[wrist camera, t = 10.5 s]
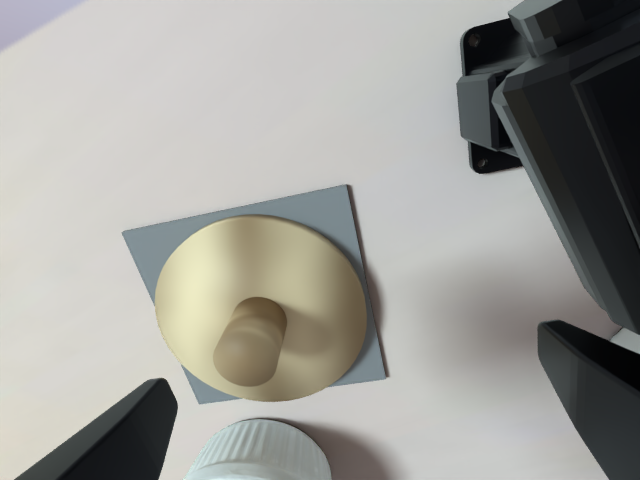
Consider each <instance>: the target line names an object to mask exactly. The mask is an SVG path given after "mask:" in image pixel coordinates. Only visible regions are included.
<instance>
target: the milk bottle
mask: <svg viewBox="0 0 640 480" xmlns="http://www.w3.org/2000/svg"><path fill="white" fill-rule="evenodd" d="M610 342H613V343H615V344H617V345H620V346H622V347H624V348H627V349H629V350H631V351H634V352H636V353H638V354H640V335H638V334H636V333H634V332H632V331H630V330H628V329H626V328H622V329H621V330H620V331H619V332H618V333H617V334H616V335H614V336H613V337H612V339H611V340H610Z"/></svg>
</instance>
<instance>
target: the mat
mask: <svg viewBox="0 0 640 480" xmlns="http://www.w3.org/2000/svg"><path fill="white" fill-rule="evenodd" d="M245 214H263V215H272V216H278V217H282V218H286V219H290V220H293V221H296V222H298V223H301V224H304V225H306V226H307V227H309V228H311V229H313V230H315V231H317V232H318V233H320V234H321V235H323V236H324V237H326V238H327V239H329V240H330V241H331V242H332V243H333V244H334V245H335V246H336V247H337V248H339V249H340V251H341V252H342V253H343V254H344V255H345V256H346V258H347V259H348V260H349V262H350V263H351V265H352V266H353V268H354V269H355V271H356V273H357V275H358V278H359V280H360V282H361V285H362V289H363V292H364V297H365V304H366V313H367V327H366V333H365V339H364V342H363V345H362V348H361V350H360V352H359V354H358V356H357V358H356V360H355V361H354V362H353V364H352V365H351V367H350V368H349V369H348V370H347V371H346V372H345V373H344V374H343V375H342V376H341V377H340V378H339V379H338V380H336V381H335V382H334V383H333V384H331V385H329V386H328V387H332V386H339V385H347V384H354V383H362V382H369V381H376V380H384V379H386V377H385V371H384V367H383V362H382V357H381V352H380V347H379V342H378V337H377V332H376V327H375V323H374V318H373V313H372V308H371V303H370V298H369V293H368V288H367V283H366V278H365V274H364V269H363V264H362V259H361V254H360V249H359V244H358V239H357V234H356V230H355V225H354V220H353V215H352V210H351V205H350V200H349V195H348V190H347V185H341V186H336V187H331V188H327V189H322V190H317V191H312V192H308V193H303V194H298V195H293V196H288V197H284V198H279V199H274V200H269V201H265V202H260V203H255V204H250V205H246V206H241V207H236V208H231V209H227V210H222V211H217V212H212V213H207V214H203V215H198V216H193V217H188V218H184V219H179V220H174V221H169V222H165V223H160V224H155V225H150V226H146V227H141V228H136V229H131V230H126V231H124V232H122V235H123V237H124V239H125V242H126V244H127V246H128V248H129V250H130V253H131V255H132V257H133V259H134V261H135V264H136V266H137V268H138V270H139V273H140V275H141V277H142V279H143V281H144V284H145V286H146V288H147V290H148V292H149V295H150V297H151V299H152V301H153V303H154V306H155V291H156V286H157V282H158V278H159V276H160V273H161V271H162V268H163V267H164V265H165V263H166V262H167V260H168V258H169V257H170V256H171V255H172V253H173V252H174V251H175V250H176V249H177V248H178V247H179V246H180V245H181V244H182V243H183V242H184V241H185V240H186V239H187V238H189V237H190V236H191V235H192V234H193V233H195V232H196V231H198V230H199V229H201V228H203V227H204V226H206V225H208V224H210V223H213V222H215V221H217V220H220V219H224V218H227V217H231V216H238V215H245ZM181 365H182V364H181ZM182 368H183V370H184V372H185V374H186V377H187V379H188V381H189V383H190V385H191V388H192V390H193V392H194V394H195V396H196V399H197V401H198V403H199V404H205V403H213V402H220V401H228V400H235V399H243V398H239V397H236V396H233V395H229V394H226V393H224V392H222V391H219V390H217V389H215V388H213V387H211V386H210V385H208V384H206V383H204V382H203V381H201V380H200V379H198V378H197V377H196V376H194V375H193V374H192V373H191V372H189V371H188V370H187V369H186V368H185V367H184V366H183V365H182Z"/></svg>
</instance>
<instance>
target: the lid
mask: <svg viewBox="0 0 640 480" xmlns="http://www.w3.org/2000/svg"><path fill="white" fill-rule="evenodd" d="M155 312H156V318H157V322H158V326H159V329H160V331H161V334H162V336H163V338H164V340H165V342H166V344H167V346H168V348H169V349H170V350H171V352H172V353H173V355H174V356H175V357H176V358H177V360H178V361H179V362H180V363H181V364H182V365H183V366H184V367H185V368H186V369H187V370H188V371H189V372H191V373H192V374H193V375H194V376H196V377H197V378H198V379H200V380H201V381H203V382H204V383H206V384H208V385H210V386H211V387H213V388H215V389H217V390H219V391H222V392H224V393H226V394H229V395H233V396H236V397H239V398H244V399H248V400H255V401H263V402H278V401H289V400H294V399H299V398H302V397H306V396H309V395H312V394H314V393H316V392H319V391H321V390H323V389H324V388H326V387H328V386H329V385H331V384H333V383H334V382H335V381H336V380H338V379H339V378H340V377H341V376H342V375H343V374H344V373H345V372H346V371H347V370H348V369H349V368H350V367H351V365H352V364H353V362H354V361H355V360H356V358H357V356H358V354H359V352H360V350H361V348H362V345H363V342H364V339H365V333H366V327H367V313H366V304H365V297H364V292H363V289H362V285H361V282H360V280H359V278H358V275H357V273H356V271H355V269H354V268H353V266H352V265H351V263H350V262H349V260H348V259H347V258H346V256H345V255H344V254H343V253H342V252H341V251H340V249H339V248H337V247H336V246H335V245H334V244H333V243H332V242H331V241H330V240H329V239H327V238H326V237H324V236H323V235H321V234H320V233H318V232H317V231H315V230H313V229H311V228H309V227H307V226H306V225H304V224H301V223H298V222H296V221H293V220H290V219H286V218H282V217H278V216H272V215H263V214H245V215H238V216H231V217H227V218H224V219H220V220H217V221H215V222H213V223H210V224H208V225H206V226H204V227H203V228H201V229H199V230H198V231H196V232H195V233H193V234H192V235H191V236H190V237H189V238H187V239H186V240H185V241H184V242H183V243H182V244H181V245H180V246H179V247H178V248H177V249H176V250H175V251H174V252H173V253H172V255H171V256H170V257H169V258H168V260H167V262H166V263H165V265H164V267H163V268H162V271H161V273H160V276H159V278H158V282H157V286H156V291H155Z"/></svg>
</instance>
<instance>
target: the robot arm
mask: <svg viewBox="0 0 640 480" xmlns="http://www.w3.org/2000/svg"><path fill="white" fill-rule="evenodd" d="M508 15H509V17H510V18H508V19H504V20H500V21H496V22H492V23H488V24H484V25H480V26H476V27H473V28H471V29H469V30H467V31H466V32H465V33H464V34H463V35H462V37H461V41H460V49H461V61H462V74H463V77H461V78H460V79H459V81H458V82H457V96H458V108H459V120H460V131H461V137H462V138H464V139H465V140H467V141H468V150H469V163H470V167H471V169H472V170H473V171H475V172H476V173H479V174H484V173H489V172H494V171H499V170H504V169H509V168H513V167H518V166H524V168H525V170H526V172H527V174H528V176H529V178H530V180H531V182H532V184H533V186H534V188H535V190H536V192H537V194H538V196H539V198H540V200H541V202H542V204H543V206H544V208H545V210H546V212H547V214H548V216H549V218H550V220H551V222H552V224H553V226H554V228H555V230H556V232H557V234H558V236H559V238H560V240H561V242H562V244H563V246H564V248H565V250H566V252H567V254H568V256H569V258H570V260H571V262H572V264H573V266H574V268H575V270H576V272H577V274H578V276H579V278H580V280H581V282H582V284H583V286H584V288H585V289H586V290H587V292H588V293H589V294H590V295H591V296H592V298H593V299H594V300H595V301H596V302H597V304H598V305H599V306H600V307H601V308H602V309H604V310H605V311H607V313H608V315H609V317H610V319H611V320H612V321H613V322H614V323H616V324H618V325H620V326H622V327H624V328H626V329H628V330H630V331H632V332H634V333H636V334H638V335H640V0H524V1H523V2H521V3H520V4H519V5H517V6H516V7H514V8H513V9H511V10H510V11H509V12H508ZM471 35H475V36H476V37H477V39H478V40H477V44H476V45H475V46H471V45H470V44H469V42H468V41H469V37H470V36H471ZM482 158H484V159H485V164H484V165H483V166H482V167H478V165H477V164H478V161H479V160H480V159H482ZM537 331H538V356H539V360H540V362H541V364H542V366H543V368H544V370H545V372H546V374H547V376H548V378H549V379H550V381H551V383H552V385H553V387H554V389H555V391H556V393H557V395H558V397H559V399H560V400H561V402H562V404H563V406H564V408H565V410H566V412H567V414H568V416H569V418H570V419H571V421H572V423H573V425H574V427H575V428H576V430H577V432H578V433H579V435H580V436H581V438H582V439H583V441H584V443H585V444H586V446H587V447H588V449H589V450H590V452H591V453H592V455H593V456H594V458H595V459H596V461H597V462H598V464H599V465H600V467H601V468H602V470H603V471H604V473H605V474H606V476H607V477H608V479H609V480H640V354H638V353H636V352H634V351H631V350H629V349H627V348H624V347H622V346H620V345H617V344H615V343H613V342H610V341H608V340H606V339H603V338H601V337H599V336H596V335H594V334H592V333H589V332H587V331H585V330H582V329H580V328H578V327H575V326H573V325H571V324H568V323H566V322H564V321H561V320H551V321H544V322H540V323H539V324H538V329H537ZM177 410H178V404H177V401H176V398H175V396H174V394H173V392H172V390H171V388H170V386H169V384H168V382H167V380H166V379H164V378H157V379H150V380H147V381H146V382H144V383H143V384H142V385H140V386H139V387H138V388H136V389H135V390H134V391H132V392H131V393H130V394H128V395H127V396H126V397H124V398H123V399H121V400H120V401H119V402H117V403H116V404H115V405H113V406H112V407H111V408H109V409H108V410H107V411H105V412H104V413H103V414H101V415H100V416H99V417H97V418H96V419H95V420H93V421H92V422H91V423H89V424H88V425H87V426H85V427H84V428H83V429H81V430H80V431H79V432H77V433H76V434H75V435H73V436H72V437H71V438H69V439H68V440H67V441H65V442H64V443H62V444H61V445H60V446H58V447H57V448H56V449H54V450H53V451H52V452H50V453H49V454H48V455H46V456H45V457H44V458H42V459H41V460H40V461H38V462H37V463H36V464H34V465H33V466H32V467H30V468H29V469H28V470H26V471H25V472H24V473H22V474H21V475H20V476H18V477H17V478H16V479H14V480H158V479H159V476H160V473H161V470H162V467H163V463H164V460H165V456H166V452H167V448H168V445H169V441H170V437H171V434H172V430H173V426H174V422H175V419H176V415H177Z"/></svg>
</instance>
